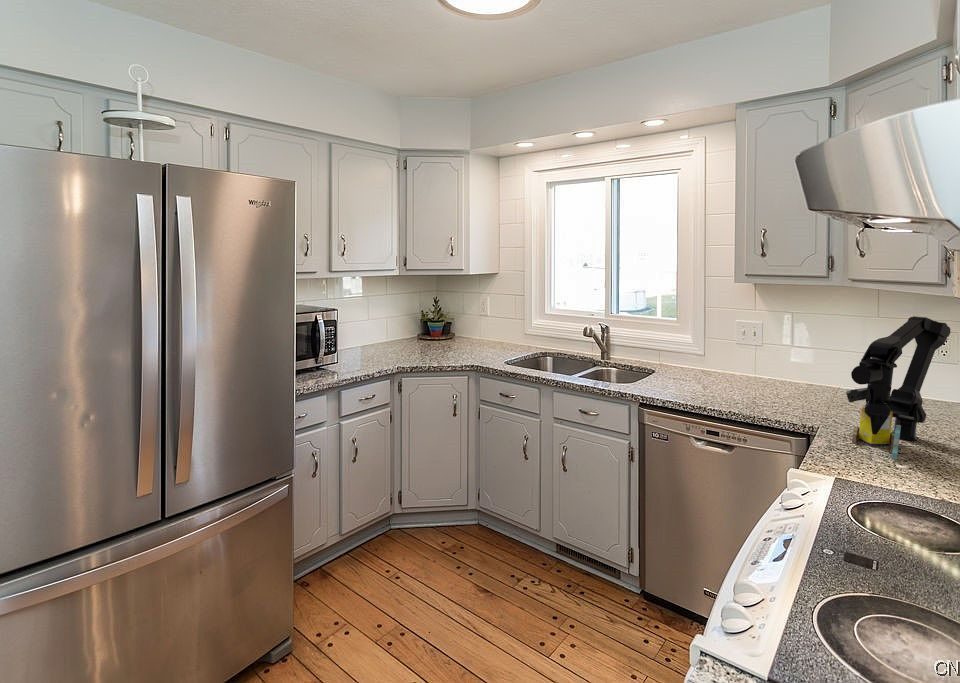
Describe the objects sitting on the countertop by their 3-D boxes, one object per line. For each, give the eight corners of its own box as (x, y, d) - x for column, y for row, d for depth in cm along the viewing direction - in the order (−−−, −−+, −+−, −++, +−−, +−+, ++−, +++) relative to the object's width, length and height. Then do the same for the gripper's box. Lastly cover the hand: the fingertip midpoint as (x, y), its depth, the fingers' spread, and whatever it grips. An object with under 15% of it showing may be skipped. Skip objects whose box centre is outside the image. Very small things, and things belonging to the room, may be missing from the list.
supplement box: (875, 440, 181) (879, 407, 179) (889, 446, 175) (893, 412, 173) (857, 440, 181) (861, 407, 179) (870, 446, 175) (874, 412, 173)
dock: (853, 435, 186) (854, 426, 185) (894, 442, 179) (895, 433, 179) (851, 443, 178) (852, 433, 177) (894, 450, 172) (896, 440, 171)
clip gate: (891, 459, 162) (894, 432, 161) (892, 450, 170) (896, 424, 169) (896, 460, 161) (900, 432, 160) (897, 451, 169) (901, 425, 168)
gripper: (850, 374, 187) (845, 420, 189) (847, 383, 172) (842, 433, 174) (892, 378, 181) (886, 426, 183) (892, 388, 166) (886, 440, 168)
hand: (874, 430), depth 177 cm, fingers closed on supplement box, 8 cm apart
